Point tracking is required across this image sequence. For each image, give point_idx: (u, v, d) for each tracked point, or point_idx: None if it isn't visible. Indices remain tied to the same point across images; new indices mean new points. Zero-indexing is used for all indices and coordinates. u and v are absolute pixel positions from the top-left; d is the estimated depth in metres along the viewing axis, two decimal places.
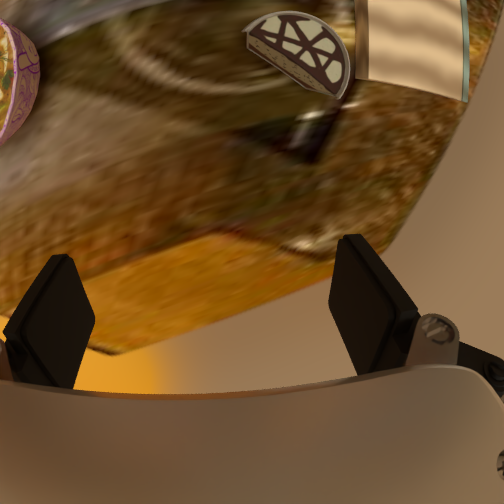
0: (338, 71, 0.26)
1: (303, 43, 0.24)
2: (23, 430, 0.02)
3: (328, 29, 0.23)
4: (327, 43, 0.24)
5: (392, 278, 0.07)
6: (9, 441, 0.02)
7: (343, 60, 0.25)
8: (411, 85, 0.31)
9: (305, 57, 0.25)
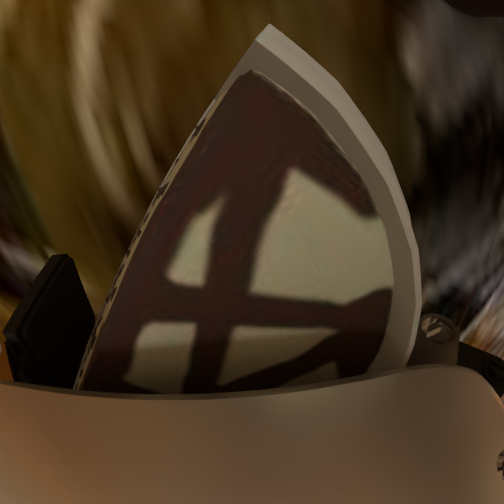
0: None
1: None
2: (23, 430, 0.02)
3: None
4: None
5: None
6: (9, 441, 0.02)
7: None
8: None
9: None
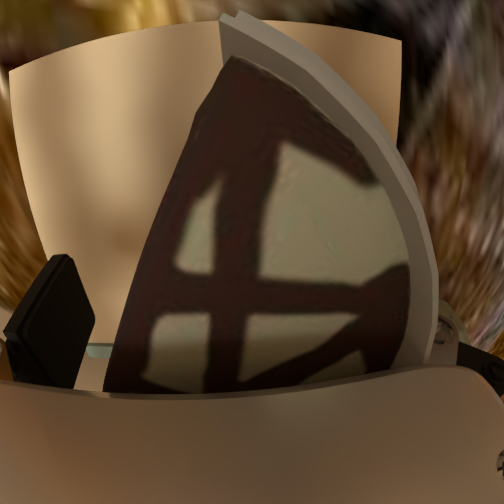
0: None
1: None
2: (23, 430, 0.02)
3: None
4: None
5: None
6: (9, 441, 0.02)
7: None
8: (31, 199, 0.12)
9: None
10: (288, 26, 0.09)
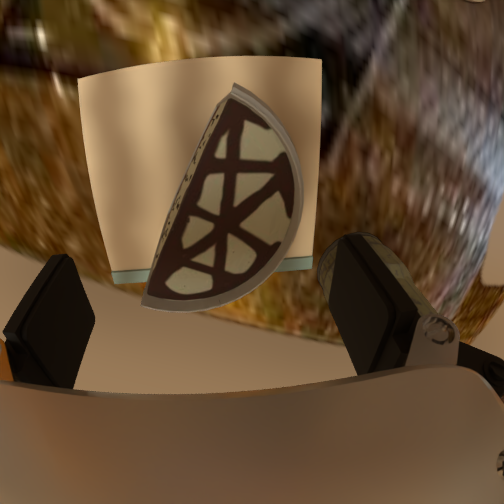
0: (192, 288, 0.16)
1: (230, 216, 0.14)
2: (23, 430, 0.02)
3: (276, 256, 0.15)
4: (244, 259, 0.15)
5: (392, 278, 0.07)
6: (9, 441, 0.02)
7: (218, 293, 0.16)
8: (89, 161, 0.20)
9: (196, 226, 0.14)
10: (249, 58, 0.18)
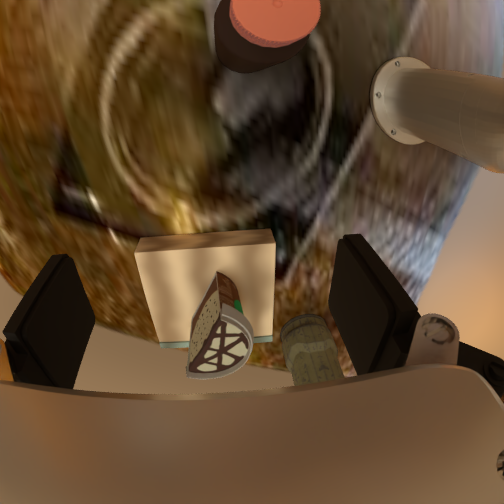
0: (208, 369, 0.36)
1: (223, 349, 0.34)
2: (23, 430, 0.02)
3: (242, 360, 0.35)
4: (229, 360, 0.35)
5: (392, 278, 0.07)
6: (9, 441, 0.02)
7: (219, 371, 0.36)
8: (146, 293, 0.40)
9: (210, 352, 0.34)
10: (233, 247, 0.38)
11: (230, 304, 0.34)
